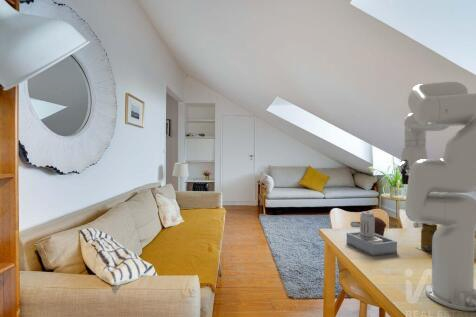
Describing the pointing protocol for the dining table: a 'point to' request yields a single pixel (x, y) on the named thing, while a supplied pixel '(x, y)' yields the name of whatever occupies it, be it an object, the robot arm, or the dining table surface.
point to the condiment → (427, 237)
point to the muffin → (379, 226)
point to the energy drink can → (367, 226)
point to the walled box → (372, 244)
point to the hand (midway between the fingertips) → (414, 183)
